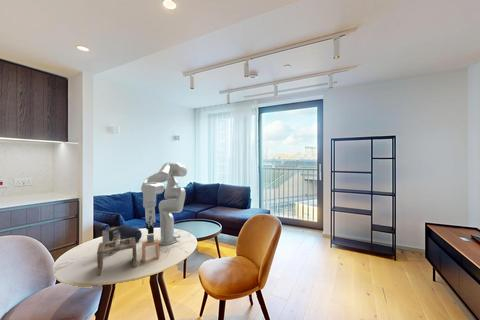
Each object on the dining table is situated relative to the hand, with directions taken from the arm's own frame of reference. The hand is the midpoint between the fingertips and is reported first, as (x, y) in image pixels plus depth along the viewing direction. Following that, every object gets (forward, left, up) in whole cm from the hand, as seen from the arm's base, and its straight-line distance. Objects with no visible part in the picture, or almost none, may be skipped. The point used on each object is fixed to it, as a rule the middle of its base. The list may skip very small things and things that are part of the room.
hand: (149, 231), depth 137 cm
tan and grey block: (0, 0, -18) cm, 18 cm away
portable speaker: (+11, -43, -18) cm, 48 cm away
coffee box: (+22, -23, -18) cm, 37 cm away
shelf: (+18, 0, -18) cm, 25 cm away
